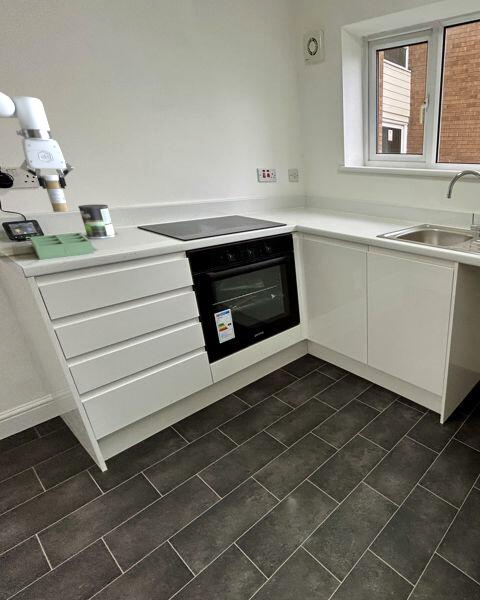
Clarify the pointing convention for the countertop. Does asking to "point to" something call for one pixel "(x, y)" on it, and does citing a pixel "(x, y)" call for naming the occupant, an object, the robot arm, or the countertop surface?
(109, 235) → the coffee can
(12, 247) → the countertop surface
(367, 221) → the countertop surface
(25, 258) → the countertop surface
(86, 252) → the grid tray
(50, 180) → the sprinkles bottle
